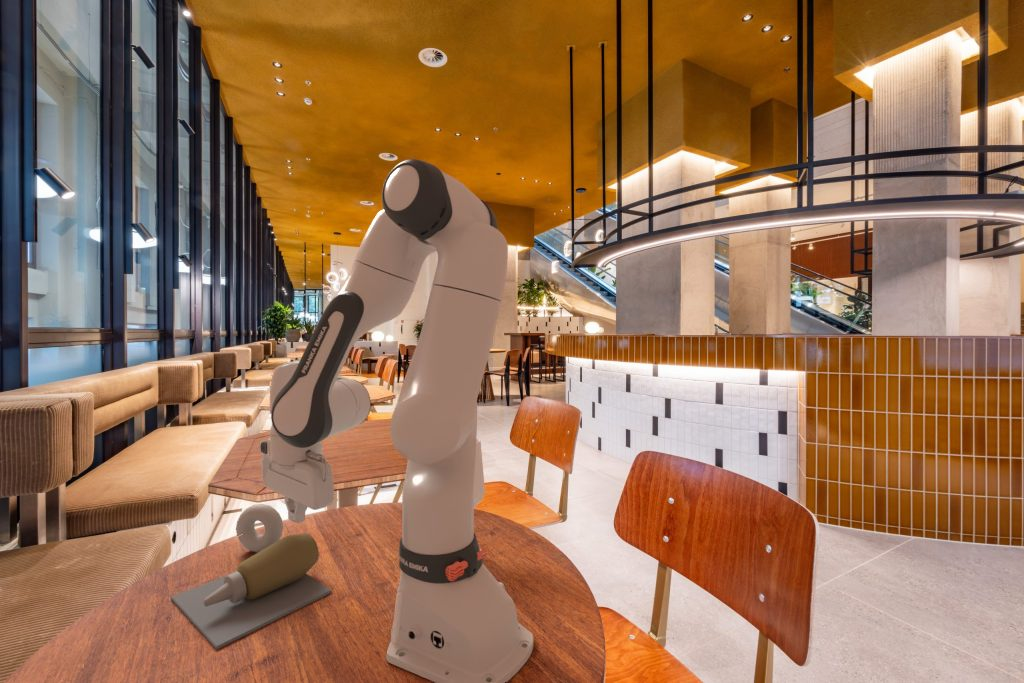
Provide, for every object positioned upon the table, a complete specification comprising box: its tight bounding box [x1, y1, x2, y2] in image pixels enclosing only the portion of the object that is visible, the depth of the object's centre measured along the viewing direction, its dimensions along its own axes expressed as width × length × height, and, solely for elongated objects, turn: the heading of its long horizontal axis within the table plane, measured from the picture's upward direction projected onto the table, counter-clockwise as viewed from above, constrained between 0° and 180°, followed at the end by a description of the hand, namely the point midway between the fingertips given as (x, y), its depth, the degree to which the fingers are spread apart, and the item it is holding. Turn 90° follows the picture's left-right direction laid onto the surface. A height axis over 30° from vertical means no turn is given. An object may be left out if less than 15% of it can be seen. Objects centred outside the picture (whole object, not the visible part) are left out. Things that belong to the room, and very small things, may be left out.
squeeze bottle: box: [203, 532, 320, 606], centre depth 77 cm, size 8×8×18 cm
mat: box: [170, 572, 333, 650], centre depth 77 cm, size 20×18×1 cm
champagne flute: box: [474, 437, 486, 551], centre depth 92 cm, size 7×7×24 cm
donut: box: [235, 503, 284, 553], centre depth 93 cm, size 10×4×10 cm, turn 83°
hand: (296, 520), depth 82 cm, fingers closed
